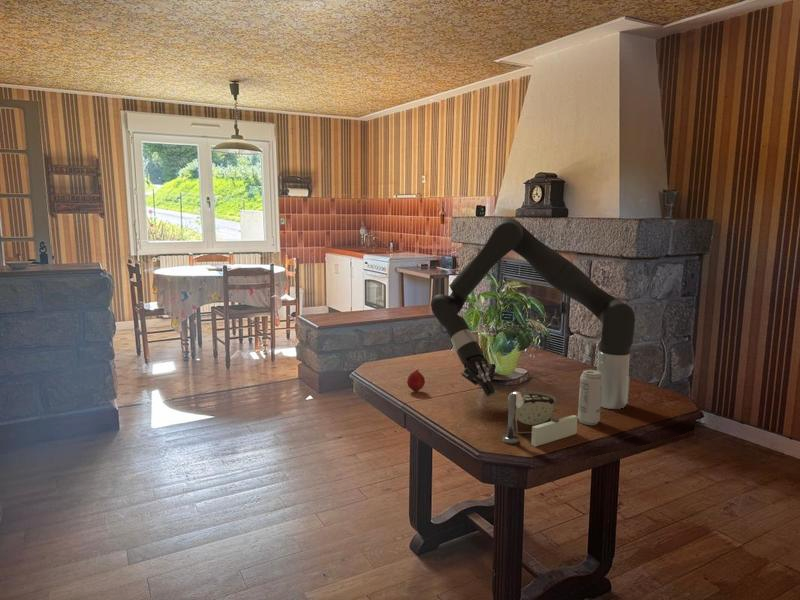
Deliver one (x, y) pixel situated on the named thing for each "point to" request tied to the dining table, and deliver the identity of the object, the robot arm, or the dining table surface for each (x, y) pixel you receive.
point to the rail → (554, 430)
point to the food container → (534, 411)
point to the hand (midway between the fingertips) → (491, 394)
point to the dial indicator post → (514, 403)
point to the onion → (416, 381)
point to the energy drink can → (590, 397)
